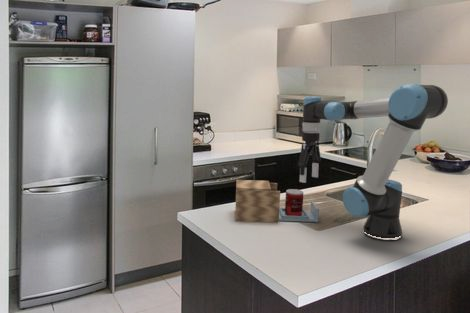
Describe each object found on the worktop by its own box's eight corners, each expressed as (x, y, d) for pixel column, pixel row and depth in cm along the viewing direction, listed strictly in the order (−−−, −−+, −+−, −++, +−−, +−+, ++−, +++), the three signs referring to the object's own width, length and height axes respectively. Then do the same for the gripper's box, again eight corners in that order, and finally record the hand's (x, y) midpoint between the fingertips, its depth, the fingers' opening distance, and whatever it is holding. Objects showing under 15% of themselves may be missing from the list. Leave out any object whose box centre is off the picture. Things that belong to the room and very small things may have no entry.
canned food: (290, 211, 197) (291, 188, 195) (305, 214, 193) (306, 191, 191) (281, 214, 192) (282, 191, 190) (296, 218, 187) (298, 194, 185)
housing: (275, 211, 200) (277, 181, 197) (278, 222, 185) (280, 189, 182) (235, 210, 200) (236, 179, 197) (235, 221, 185) (236, 187, 182)
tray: (314, 213, 199) (315, 200, 198) (319, 222, 186) (320, 209, 185) (271, 211, 199) (272, 199, 198) (273, 220, 186) (274, 207, 185)
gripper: (314, 129, 197) (312, 174, 201) (290, 133, 177) (289, 183, 180) (329, 130, 193) (327, 176, 197) (307, 135, 173) (305, 185, 176)
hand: (309, 179), depth 188 cm, fingers open, 13 cm apart
